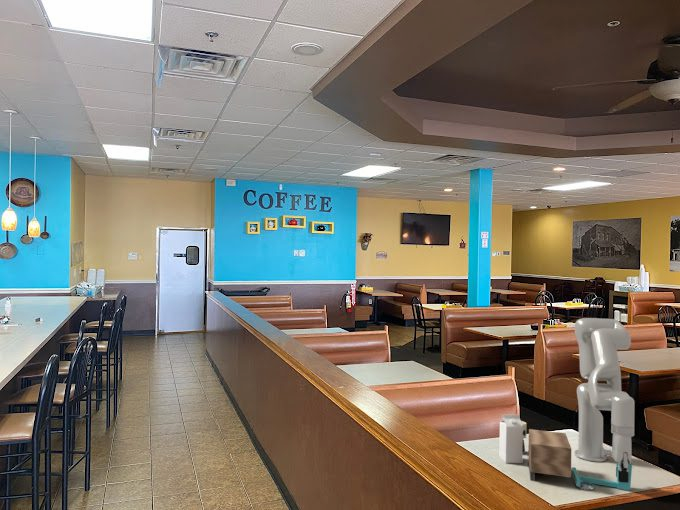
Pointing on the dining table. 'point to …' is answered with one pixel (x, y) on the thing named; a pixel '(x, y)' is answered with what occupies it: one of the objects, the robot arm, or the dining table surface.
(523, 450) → the character mug
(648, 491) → the dining table surface
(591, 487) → the grey flat disc
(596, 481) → the scraper
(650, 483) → the dining table surface
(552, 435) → the cabinet
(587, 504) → the dining table surface
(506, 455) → the milk carton
